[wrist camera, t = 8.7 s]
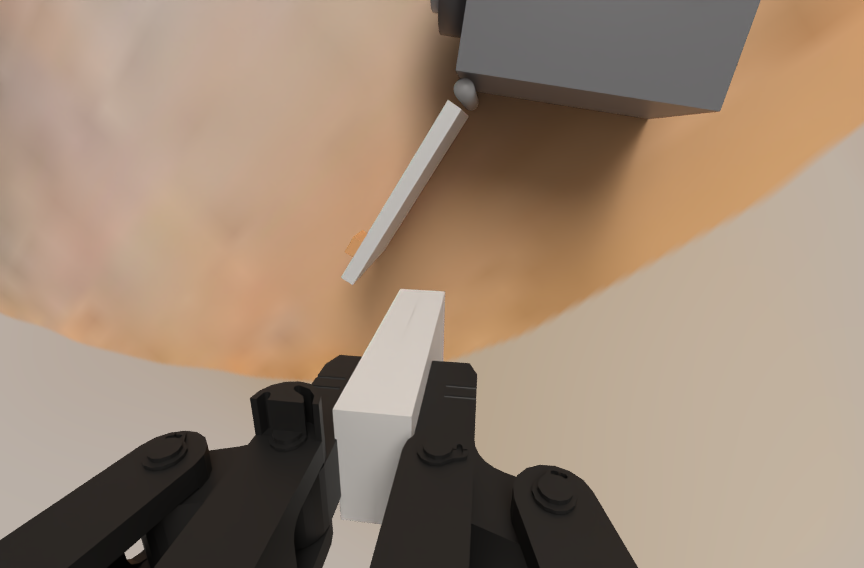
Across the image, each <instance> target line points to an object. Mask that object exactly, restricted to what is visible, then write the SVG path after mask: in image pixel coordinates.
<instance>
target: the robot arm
mask: <svg viewBox="0 0 864 568" xmlns="http://www.w3.org/2000/svg"><path fill="white" fill-rule="evenodd" d="M444 312H445V291H427V290H410V289H400V290H399V292H398V294H397V296H396V297H395V299H394V301H393V303H392V305H391V306H390V308H389V310H388V312H387V313H386V315H385V317H384V319H383V321H382V322H381V324H380V326H379V328H378V329H377V331H376V333H375V335H374V337H373V338H372V340H371V342H370V344H369V345H368V347H367V349H366V351H365V353H364V354H363V356H362V357H360V356H347V355H339V356H337V357H336V358H334V359H333V360H331V361H330V362H328V363H327V364H325V366H324V367H323V369H322V370H321V371H320V373H319V374H318V377H317V378H316V379H315V380H314V381H313V383H312V384H308V383H304V382H283V383H279V384H274V385H271V386H269V387H267V388H265V389H262V390H260V391H259V392H257V393H256V394H255V395H253V396H252V397H251V398H250V401H251V408H252V414H253V419H254V420H253V421H254V427H255V434H256V435H255V436H254V438H253V439H252V440H251V442H250V443H249V444H248V445H244V446H240V447H233V448H225V449H218V450H211V451H209V450H208V445H207V442H206V439H205V437H204V436H202V435H201V434H199V433H197V432H191V431H180V432H172V433H168V434H165V435H162V436H159V437H156V438H154V439H152V440H150V441H148V442H146V443H145V444H143V445H141V446H139V447H138V448H136V449H135V450H133V451H132V452H130V453H129V454H127V455H126V456H124V457H123V458H121V459H120V460H118V461H117V462H115V463H114V464H112V465H111V466H110V467H108V468H107V469H105V470H104V471H102V472H101V473H99V474H98V475H96V476H95V477H93V478H92V479H90V480H89V481H87V482H86V483H84V484H83V485H81V486H80V487H78V488H77V489H75V490H74V491H72V492H71V493H70V494H68V495H67V496H65V497H64V498H62V499H61V500H59V501H58V502H56V503H55V504H53V505H52V506H50V507H49V508H47V509H46V510H44V511H43V512H41V513H40V514H38V515H37V516H35V517H34V518H32V519H31V520H29V521H28V522H26V523H25V524H23V525H22V526H21V527H19V528H17V529H16V530H15V531H13V532H12V533H10V534H9V535H7V536H6V537H4V538H3V539H1V540H0V568H322V567H323V564H324V562H325V559H326V557H327V554H328V551H329V548H330V546H331V542H332V535H333V527H332V517H333V515H334V513H335V510H336V508H337V505H338V503H339V500H340V512H341V519H342V520H350V521H351V520H352V521H359V522H367V523H375V524H382V525H381V528H380V532H379V536H378V540H377V543H376V547H375V550H374V554H373V558H372V561H371V565H370V568H638V567H637V565H636V564H635V562H634V560H633V558H632V557H631V555H630V553H629V552H628V550H627V548H626V547H625V545H624V543H623V541H622V540H621V538H620V537H619V535H618V533H617V531H616V530H615V528H614V526H613V525H612V523H611V521H610V520H609V518H608V516H607V515H606V513H605V511H604V509H603V508H602V506H601V504H600V503H599V501H598V499H597V498H596V496H595V494H594V493H593V491H592V490H591V489H590V488H589V486H588V485H587V484H586V483H585V482H584V481H583V480H582V479H581V478H579V477H578V476H576V475H575V474H573V473H572V472H570V471H568V470H565V469H562V468H559V467H556V466H547V465H537V466H534V467H529V468H526V469H525V470H524V471H523V472H521V473H520V474H518V475H517V477H515V476H513V475H510V474H507V473H504V472H502V471H500V470H498V469H496V468H494V467H492V466H491V465H489V464H488V463H487V462H485V461H484V460H483V459H482V457H481V456H480V455H479V453H478V451H477V449H476V447H475V441H474V435H475V434H474V433H475V412H476V388H477V387H476V386H477V374H476V372H475V371H474V370H473V368H472V366H471V365H470V364H469V363H457V362H444V361H443V349H444ZM140 538H141V539H142V543H143V546H144V550H143V551H142V552H141V553H140V554H138V555H137V556H135V557H134V558H132V559H128V560H127V559H126V556H125V553H124V552H126V551H127V550H128V549H129V548H130V547H131V546H132V545H134V544H135V543H136V542H137V541H138V540H139V539H140Z"/></svg>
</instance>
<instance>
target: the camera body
mask: <svg viewBox="0 0 864 568" xmlns="http://www.w3.org/2000/svg"><path fill="white" fill-rule="evenodd" d="M759 3H760V0H431V9H432V12H435V13H438V25H439V32H440V34H441V35H446V36H453V37H459V38H461V39H460V45H459V52H458V58H457V65H456V72H457V74H458V76H459V78H460V79H461V78H468V79H470V80H471V81H472V82H473V84H474V87H475V90H476V92H481V93H488V94H494V95H500V96H507V97H513V98H519V99H525V100H532V101H538V102H544V103H551V104H557V105H563V106H570V107H576V108H582V109H588V110H595V111H601V112H607V113H614V114H620V115H626V116H633V117H639V118H645V119H654V118H663V117H672V116H682V115H691V114H700V113H710V112H719V111H720V110H721V107H722V104H723V102H724V99H725V96H726V94H727V91H728V88H729V85H730V83H731V80H732V77H733V74H734V72H735V69H736V66H737V63H738V61H739V58H740V55H741V52H742V50H743V47H744V44H745V41H746V39H747V36H748V33H749V31H750V28H751V25H752V22H753V20H754V17H755V14H756V11H757V9H758V6H759Z"/></svg>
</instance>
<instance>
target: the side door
mask: <svg viewBox="0 0 864 568" xmlns="http://www.w3.org/2000/svg"><path fill="white" fill-rule="evenodd" d="M454 94H455V96H456V97H457V99H458V100H459V101H460V102H461V103H462V104H463V106H464V107H465V108H466V109H467V110H470V111H472V110H475V109H476V108H477V106H478V104H479V101H478V97H477V94H476V90H475V87H474V84H473V82H472V81H471V80H470V79H468V78H461V79H459V80H458V81H457V82H456V83H455V85H454ZM468 117H469V116H468V115H467V114H466V113H465V112H464V111H463V110H462V109H460V108H459V107H458V106H456V105H455V104H453V103H452V102H450V101H449V100H448V101H447V102H446V104H445V106H444V107H443V109H442V111H441V112H440V114H439V116H438V117H437V119H436V121H435V122H434V124H433V126H432V127H431V129H430V131H429V132H428V134H427V136H426V137H425V139H424V140H423V142H422V144H421V145H420V147H419V149H418V150H417V152H416V154H415V155H414V157H413V159H412V160H411V162H410V164H409V165H408V167H407V169H406V170H405V172H404V174H403V175H402V177H401V179H400V180H399V182H398V184H397V185H396V187H395V189H394V190H393V192H392V194H391V195H390V197H389V199H388V200H387V202H386V204H385V205H384V207H383V209H382V210H381V212H380V214H379V215H378V217H377V219H376V220H375V222H374V224H373V225H372V227H371V229H370V230H369V232H368V233H366V232H364V231H363V230H362V231H361V232H359V233H358V234H357V235H355V236H354V237H353V238H352V240H351V242H350V244H349V245H348V247H347V249H346V250H345V252H346V253H347V254H349V255H350V256H352V257H353V258H352V260H351V262H350V263H349V265H348V267H347V268H346V270H345V272H344V273H343V275H342V277H341V278H342V279H344V280H346V281H347V282H349V283H350V284H352V285H353V284H354V283H355V282H356V281H357V280H358V279H359V278H360V277H361V275H362V274H363V273H364V272H365V271H366V270H367V269H368V268H369V267H370V266H371V265H372V263H373V262H374V261H375V260H376V259H377V258H378V257H379V256H380V255H381V254H382V253H383V251H384V250H385V249H386V247H387V246H388V244H389V243H390V241H391V239H392V238H393V236H394V235H395V233H396V231H397V230H398V228H399V227H400V225H401V223H402V222H403V220H404V219H405V217H406V216H407V214H408V212H409V211H410V209H411V208H412V206H413V204H414V203H415V201H416V200H417V198H418V196H419V195H420V193H421V192H422V190H423V189H424V187H425V185H426V184H427V182H428V181H429V179H430V177H431V176H432V174H433V173H434V171H435V170H436V168H437V166H438V165H439V163H440V162H441V160H442V158H443V157H444V155H445V154H446V152H447V150H448V149H449V147H450V146H451V144H452V143H453V141H454V139H455V138H456V136H457V135H458V133H459V131H460V130H461V128H462V127H463V125H464V123H465V122H466V120H467V119H468Z"/></svg>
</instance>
